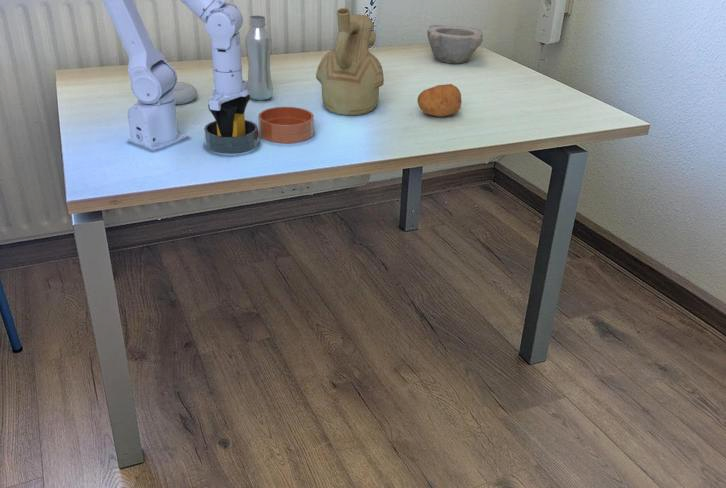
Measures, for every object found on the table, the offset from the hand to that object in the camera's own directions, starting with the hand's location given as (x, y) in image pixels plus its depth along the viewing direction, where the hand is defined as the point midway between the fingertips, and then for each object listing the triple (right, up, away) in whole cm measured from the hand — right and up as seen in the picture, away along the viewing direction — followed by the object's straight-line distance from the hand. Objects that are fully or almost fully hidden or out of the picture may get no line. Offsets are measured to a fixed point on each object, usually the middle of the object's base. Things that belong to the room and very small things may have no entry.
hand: (231, 132), depth 141 cm
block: (0, -2, +1) cm, 2 cm away
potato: (+46, +8, +23) cm, 52 cm away
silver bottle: (+2, +13, +29) cm, 31 cm away
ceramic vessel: (+24, +10, +25) cm, 36 cm away
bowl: (+11, +1, +8) cm, 13 cm away
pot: (0, -3, +1) cm, 3 cm away
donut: (-19, +12, +25) cm, 34 cm away
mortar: (+56, +34, +68) cm, 94 cm away
